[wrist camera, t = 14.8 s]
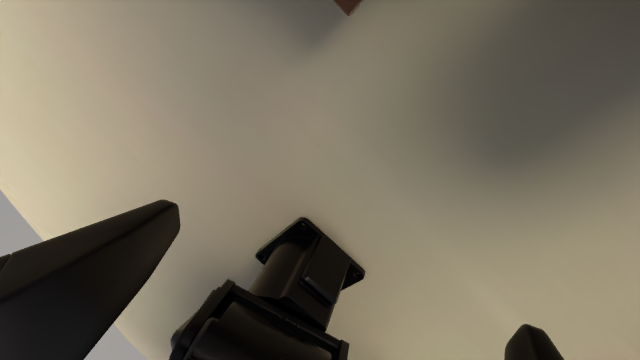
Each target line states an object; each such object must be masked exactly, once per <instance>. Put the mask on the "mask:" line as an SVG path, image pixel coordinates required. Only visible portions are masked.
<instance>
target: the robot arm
mask: <svg viewBox="0 0 640 360" xmlns="http://www.w3.org/2000/svg"><path fill="white" fill-rule="evenodd" d="M302 224H305V225H306V226H304V225H302ZM179 230H180V217H179V208H178V205H177V204H176V203H173V202H170V201H168V200H159V201H156V202H153V203H150V204H148V205H145V206H142V207H139V208H136V209H134V210H131V211H128V212H125V213H122V214H120V215H117V216H114V217H111V218H108V219H106V220H103V221H100V222H97V223H94V224H92V225H89V226H86V227H83V228H80V229H78V230H75V231H72V232H69V233H66V234H64V235H61V236H58V237H55V238H52V239H50V240H47V241H44V242H41V243H39V244H36V245H33V246H30V247H27V248H24V249H22V250H19V251H16V252H14V253H12V254H8V255H5V256H2V257H0V360H84V358H85V357H86V356H87V355H88V353H89V352H90V351H91V350H92V349H93V347H94V346H95V344H97V342H98V341H99V340H100V339H101V337H102V336H103V335H104V334H105V332H106V331H107V330H108V329H109V327H110V326H111V325H112V324H113V323H114V321H115V320H116V319H117V318H118V316H119V315H120V314H121V313H122V311H123V310H124V309H125V308H126V307H127V305H128V304H129V303H130V302H131V300H132V299H133V298H134V297H135V295H136V294H137V293H138V292H139V291H140V289H141V288H142V287H143V285H144V284H145V283H146V282H147V280H148V279H149V277H150V276H151V275H152V273H153V272H154V270H155V269H156V267H157V266H158V264H159V262H160V261H161V259H162V258H163V256H164V255H165V253H166V252H167V250H168V249H169V247H170V246H171V244H172V242H173V241H174V239H175V238H176V236H177V235H178V233H179ZM256 258H257V259H258V260H259V261H260V262H261V263H262V264H264V267H263V269H262V270H261V272H260V274H259V275H258V277H257V279H256V280H255V282H254V284H253V285H252V287H251V288H250V290H249V292H248V291H247V290H245V289H243V288H241V287H239V286H237V285H235V282H233V281H231V280H229V279H227V281H226V282H225V283H224V284H223V285H222V287H218V288H217V289H216V290H213V291H212V292H211V294H210V295H209V297H208V298H207V300H206V301H205V302H204V304H203V305H202V306H201V308H200V309H199V310H198V311H197V312H196V313H195V314H194V315H193V316H192V317H191V318H190V319H188V320H187V321H186V322H185V323H184V324H183V325H182V326H181V327H180V328H179V329H177V330H176V332H175V333H174V334H173V336H172V338H171V340H170V341H171V347H172V353H171V355H170V358H169V360H347V357H348V349H349V343H347V342H345V341H343V340H338V339H336V338H335V337H333V336H331V335H329V334H327V333H325V331H326V329H327V326H328V323H329V321H330V318H331V315H332V312H333V309H334V306H335V304H336V303H337V300H338V297H339V294H340V291H342V290H344V289H345V288H347V287H349V286H351V285H353V284H355V283H357V282H359V281H361V280H362V279H363V278H364V275H365V270H364V269H363V268H362V267H361V266H360V265H358V264H357V263H356V262H355V261H354V260H353V259H352V258H351V257H350V256H348V255H347V254H346V253H345V252H344V251H343V250H342V249H341V248H340V247H339V246H337V245H336V244H335V243H334V242H333V241H332V240H331V239H330V238H329V237H327V236H326V235H325V234H324V233H323V232H322V231H321V230H320V229H319V228H318V227H316V226H315V225H314V224H313V223H312V222H311V221H310V220H309V219H307V218H305V217H301V218H299V219H298V220H297V221H295V222H294V223H293V224H292V225H290V226H289V227H288V228H287V229H285V230H284V231H283V232H281V233H280V234H279V235H278V236H276V237H275V238H274V239H273V240H271V241H270V242H269V243H267V244H266V245H265V246H264V247H262V248H261V249H260V250H259V251H258V252H257V254H256ZM357 273H359V274H357ZM504 360H564V359H563V357H562V356H561V354H560V353H559V351H558V350H557V348H556V347H555V345H554V344H553V343H552V341H551V340H550V338H549V337H548V335H547V334H546V333H545V332H544V331H543V330H542V329H540V328H537V327H534V326H531V325H528V324H523V325H522V326H521V327H520V328H519V329H518V330H517V331H516V333H515V334H514V335H513V336H512V338H511V339H510V340H509V342H508V343H507V345H506V348H505V358H504Z"/></svg>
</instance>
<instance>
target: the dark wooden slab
mask: <svg viewBox="0 0 640 360" xmlns="http://www.w3.org/2000/svg"><path fill="white" fill-rule="evenodd" d="M333 1H334V2H335V3H336V4H337V5H338V6H339V7H340V8H341V9H342V10H343V11H344V12H345V13H346V14H347V15H348V16H350V15H351V14H353V13H354V11H355V10H356V9H357V8H358V7H359V6H360V4H361V3H362V2H363V1H364V0H333Z"/></svg>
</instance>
